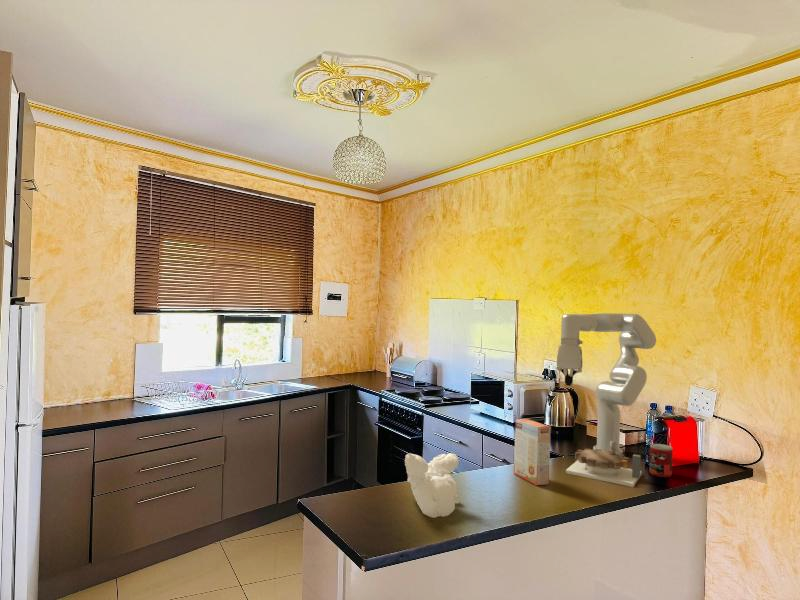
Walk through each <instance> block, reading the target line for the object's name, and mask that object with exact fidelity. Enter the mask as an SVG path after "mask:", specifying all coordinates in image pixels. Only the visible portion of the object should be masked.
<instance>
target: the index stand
mask: <svg viewBox="0 0 800 600" xmlns="http://www.w3.org/2000/svg"><path fill="white" fill-rule="evenodd" d="M641 458H642V457H641V455H640V454H636V453H635V454H634V453H633V455H632V468H628V467H627V468H623V467H621V469H614V468H608V469H604V468H601V467H598V466H594V467H592V466H588V464H586V463H580V462H578V460H575V462H574V463H572V464H571V465H570V466H569V467H568V468H567V469H565V474H568V475H574V476H578V477H583V478H588V479H593V480H596V481H602V482H607V483H612V484H617V485H622V486H625V487H630V488H631V487H632V488H634V487H635V485H636V484H637V482H638V480H639V479H640V478H641V476H642V473H643V472H642V470H641V468H642V467H641V466H642V465H641V461H642V459H641Z"/></svg>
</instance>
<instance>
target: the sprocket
mask: <svg viewBox="0 0 800 600" xmlns="http://www.w3.org/2000/svg"><path fill="white" fill-rule="evenodd" d="M615 447H616V442H615V441H610V451H602V450H601V449H596V450H593V449H591V448H584V450H583V449H577V450H576V451H575V456H574V457H575V461H577V460H578V462H580V463H586V464H588V466H592V467H594V466H598V467H601V468H604V469H608V468H614V469H621V467H622V468H627V469H628V466H629V465H630V463H629V462H630V458H629V457H627V456H625V454H623V453H622V454H616V453H615Z"/></svg>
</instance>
